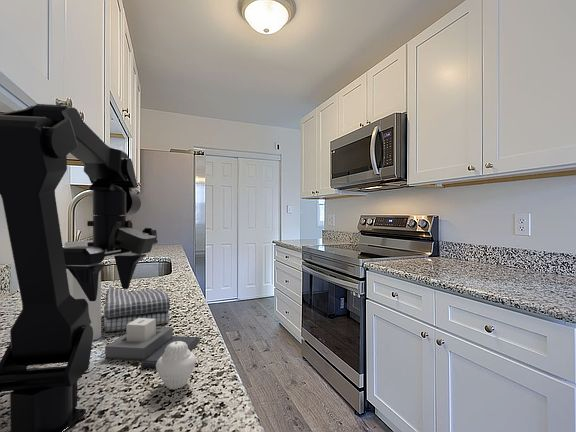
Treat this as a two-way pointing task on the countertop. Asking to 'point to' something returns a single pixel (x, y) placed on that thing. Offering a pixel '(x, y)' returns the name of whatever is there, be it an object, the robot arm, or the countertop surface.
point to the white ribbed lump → (176, 365)
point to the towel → (134, 307)
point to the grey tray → (137, 346)
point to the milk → (78, 293)
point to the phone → (154, 357)
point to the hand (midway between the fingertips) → (110, 294)
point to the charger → (141, 330)
